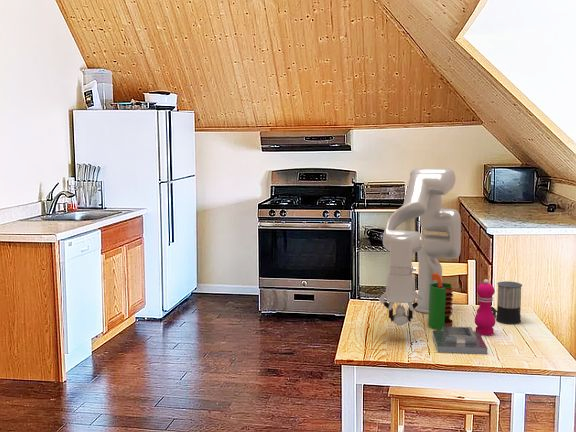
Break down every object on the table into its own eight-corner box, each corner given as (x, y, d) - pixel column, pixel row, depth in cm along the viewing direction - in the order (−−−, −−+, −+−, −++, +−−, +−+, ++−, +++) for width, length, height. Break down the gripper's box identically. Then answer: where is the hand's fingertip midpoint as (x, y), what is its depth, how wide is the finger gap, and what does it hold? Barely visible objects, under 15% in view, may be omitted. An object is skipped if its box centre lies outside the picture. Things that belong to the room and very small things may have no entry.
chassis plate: (432, 335, 228) (432, 323, 227) (478, 337, 225) (478, 324, 225) (437, 352, 210) (437, 339, 209) (487, 354, 208) (487, 340, 207)
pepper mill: (470, 333, 230) (472, 279, 227) (479, 328, 235) (481, 276, 233) (489, 337, 225) (491, 282, 222) (498, 332, 230) (500, 279, 228)
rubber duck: (390, 326, 221) (390, 303, 220) (396, 320, 227) (396, 298, 225) (405, 328, 218) (405, 305, 217) (411, 322, 224) (411, 300, 223)
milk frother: (523, 325, 239) (524, 287, 238) (480, 323, 242) (481, 285, 240) (516, 315, 253) (517, 278, 252) (475, 313, 256) (476, 277, 254)
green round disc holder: (453, 330, 233) (454, 277, 231) (428, 329, 235) (429, 276, 232) (451, 323, 243) (453, 271, 240) (427, 321, 245) (429, 271, 242)
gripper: (425, 267, 222) (424, 317, 225) (375, 267, 224) (375, 316, 227) (426, 273, 215) (426, 324, 218) (375, 272, 217) (376, 323, 220)
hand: (400, 319), depth 222 cm, fingers closed on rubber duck, 5 cm apart
